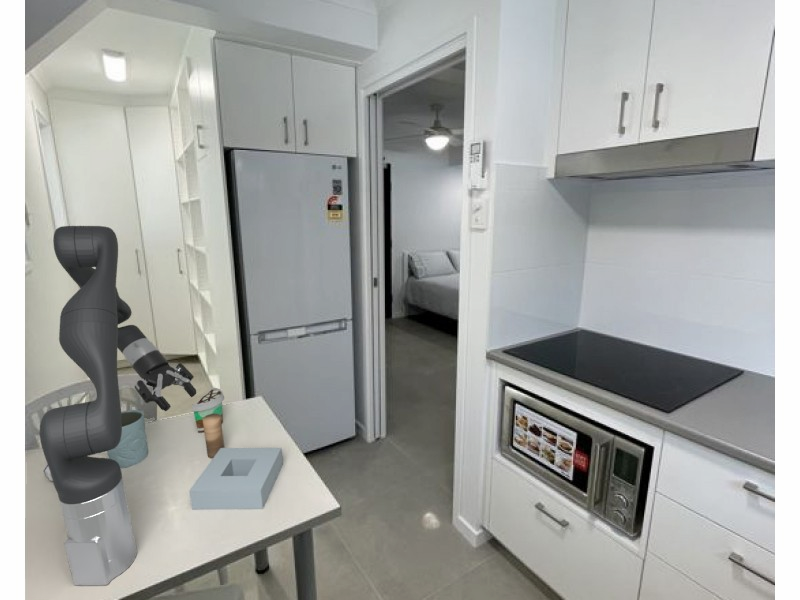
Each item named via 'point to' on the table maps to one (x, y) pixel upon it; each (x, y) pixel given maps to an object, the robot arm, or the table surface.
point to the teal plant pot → (131, 440)
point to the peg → (213, 434)
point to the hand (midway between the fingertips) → (181, 401)
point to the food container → (208, 407)
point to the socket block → (237, 479)
